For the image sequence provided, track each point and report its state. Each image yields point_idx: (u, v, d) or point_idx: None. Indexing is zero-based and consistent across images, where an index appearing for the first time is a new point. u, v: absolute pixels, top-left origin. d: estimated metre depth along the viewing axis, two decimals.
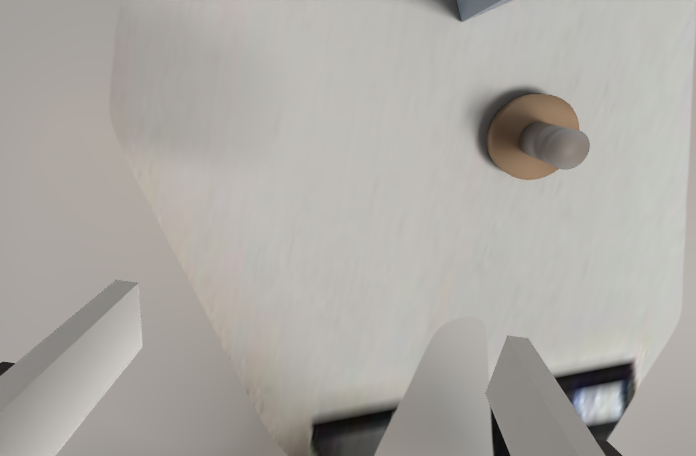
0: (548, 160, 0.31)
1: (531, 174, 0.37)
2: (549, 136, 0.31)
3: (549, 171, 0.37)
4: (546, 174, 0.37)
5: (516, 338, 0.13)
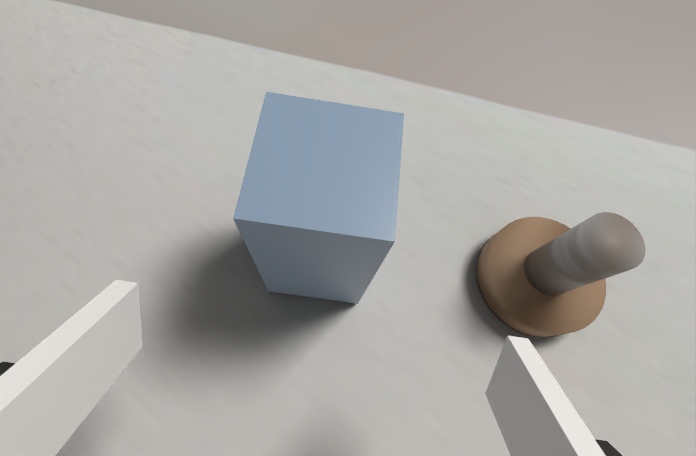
0: (622, 271, 0.19)
1: (597, 294, 0.25)
2: (578, 258, 0.20)
3: None
4: None
5: (516, 338, 0.13)
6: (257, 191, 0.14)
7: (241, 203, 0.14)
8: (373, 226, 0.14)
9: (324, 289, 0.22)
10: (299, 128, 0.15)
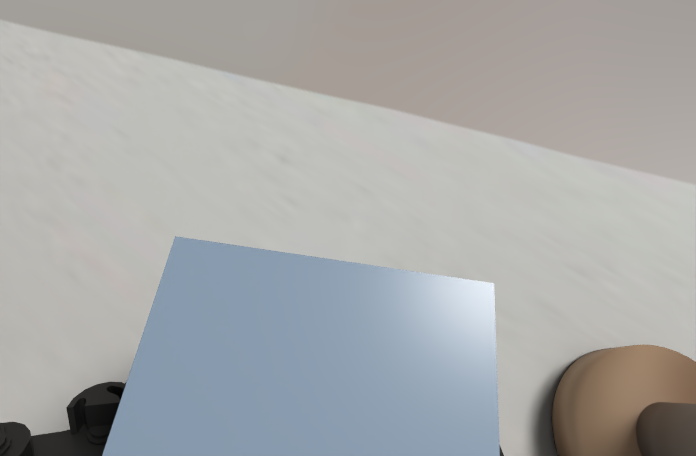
0: None
1: None
2: None
3: None
4: None
5: None
6: None
7: None
8: None
9: None
10: (247, 338, 0.06)
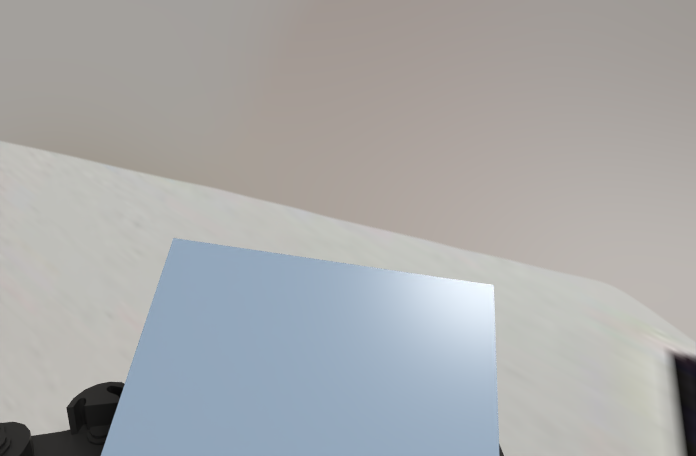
0: None
1: None
2: None
3: None
4: None
5: None
6: None
7: None
8: None
9: None
10: (246, 340, 0.06)
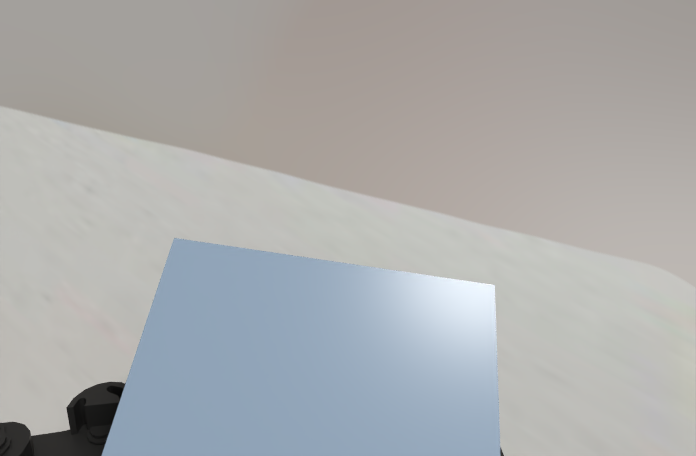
0: None
1: None
2: None
3: None
4: None
5: None
6: None
7: None
8: None
9: None
10: (247, 340, 0.06)
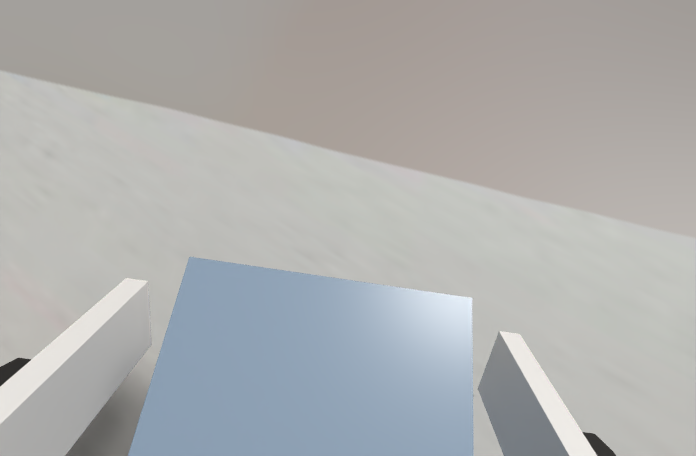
0: None
1: None
2: None
3: None
4: None
5: (507, 334, 0.13)
6: None
7: None
8: None
9: None
10: (254, 347, 0.07)
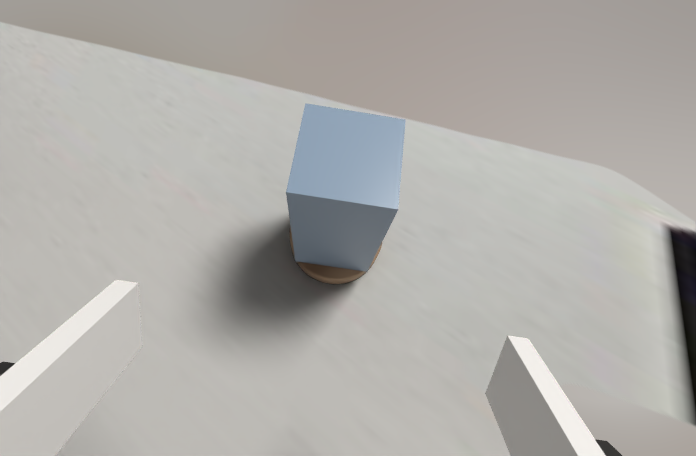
0: None
1: None
2: None
3: None
4: None
5: (516, 338, 0.13)
6: (302, 174, 0.20)
7: (291, 182, 0.20)
8: (383, 198, 0.20)
9: (342, 257, 0.28)
10: (330, 129, 0.21)
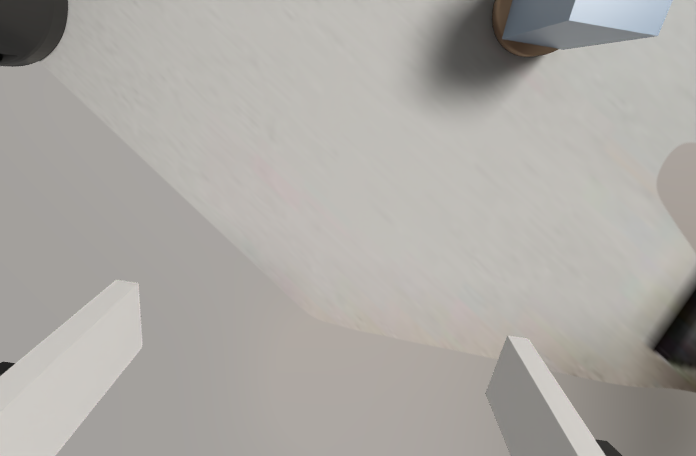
0: None
1: None
2: None
3: None
4: None
5: (516, 338, 0.13)
6: (585, 0, 0.24)
7: (574, 9, 0.24)
8: (648, 25, 0.24)
9: (553, 42, 0.33)
10: None
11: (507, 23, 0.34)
